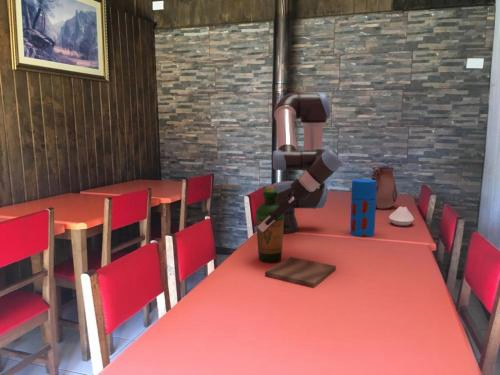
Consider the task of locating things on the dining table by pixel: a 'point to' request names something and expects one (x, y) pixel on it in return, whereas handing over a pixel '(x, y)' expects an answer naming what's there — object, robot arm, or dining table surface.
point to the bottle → (269, 228)
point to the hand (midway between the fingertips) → (262, 225)
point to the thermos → (363, 207)
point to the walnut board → (301, 271)
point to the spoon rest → (401, 217)
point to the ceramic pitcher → (384, 186)
